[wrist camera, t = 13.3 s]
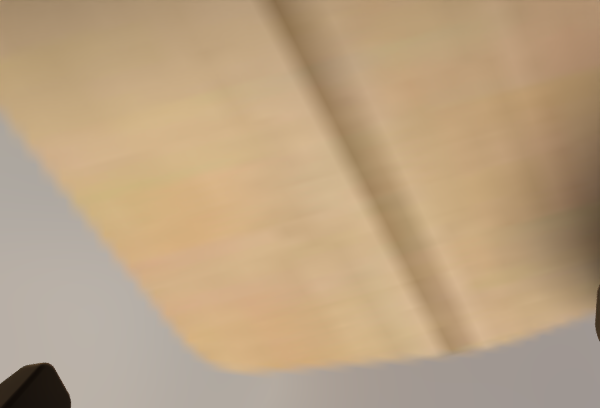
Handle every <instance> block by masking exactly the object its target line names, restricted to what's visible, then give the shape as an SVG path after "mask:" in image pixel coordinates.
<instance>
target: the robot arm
mask: <svg viewBox="0 0 600 408" xmlns="http://www.w3.org/2000/svg"><path fill="white" fill-rule="evenodd" d="M595 327H596V333H597V336H598V339H599V341H600V285H599V287H598V291H597V304H596V319H595ZM0 408H71V399H70V396H69V393H68V392H67V390H66V388H65V386H64V384H63V383H62V381H61V379H60V377H59V376H58V374H57V372H56V370H55V368H54V367H53V366H52V365H51V364H49V363H38V364H32V365H26V366H24V367H22V368H20V369H19V370H18V371H17V372H15V373H14V374H13V375H11V376H10V377H9V378H7V379H6V380H5V381H3V382H2V383H1V384H0Z"/></svg>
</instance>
